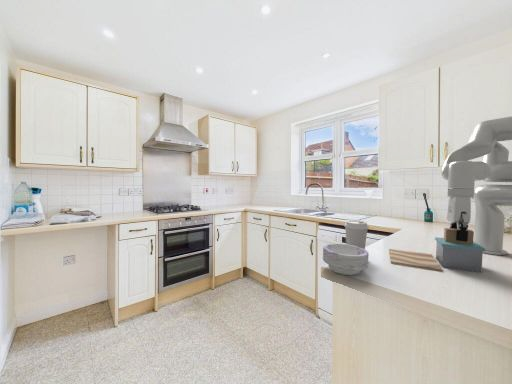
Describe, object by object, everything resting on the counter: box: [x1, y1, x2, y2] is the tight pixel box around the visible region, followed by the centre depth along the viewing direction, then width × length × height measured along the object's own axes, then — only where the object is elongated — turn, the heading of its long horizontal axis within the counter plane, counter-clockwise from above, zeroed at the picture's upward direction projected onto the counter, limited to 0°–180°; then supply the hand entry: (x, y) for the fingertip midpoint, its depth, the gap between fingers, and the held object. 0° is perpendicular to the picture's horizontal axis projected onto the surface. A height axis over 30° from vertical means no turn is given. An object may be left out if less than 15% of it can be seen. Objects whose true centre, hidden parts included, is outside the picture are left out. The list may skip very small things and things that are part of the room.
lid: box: [434, 227, 485, 251], centre depth 87 cm, size 12×12×8 cm
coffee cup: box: [343, 220, 370, 250], centre depth 96 cm, size 10×10×15 cm
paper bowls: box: [322, 242, 369, 276], centre depth 81 cm, size 15×15×8 cm
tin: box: [435, 241, 484, 274], centre depth 87 cm, size 11×11×8 cm
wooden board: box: [388, 248, 443, 272], centre depth 94 cm, size 20×16×1 cm
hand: (458, 238), depth 87 cm, fingers open, 7 cm apart
